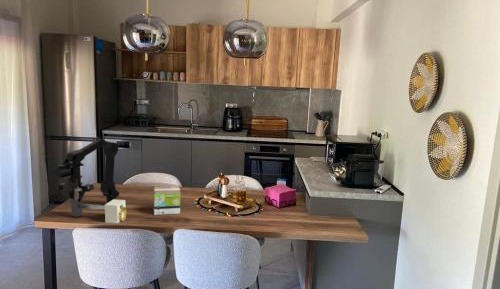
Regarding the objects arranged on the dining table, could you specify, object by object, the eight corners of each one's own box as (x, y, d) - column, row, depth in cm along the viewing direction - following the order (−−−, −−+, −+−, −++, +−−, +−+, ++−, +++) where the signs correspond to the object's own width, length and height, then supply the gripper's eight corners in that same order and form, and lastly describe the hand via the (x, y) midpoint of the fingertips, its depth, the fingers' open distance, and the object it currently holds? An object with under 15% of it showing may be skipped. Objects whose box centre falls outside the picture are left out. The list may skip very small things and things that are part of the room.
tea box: (154, 215, 221) (153, 191, 219) (153, 210, 231) (153, 186, 228) (180, 213, 225) (180, 189, 223) (178, 208, 235) (178, 185, 232)
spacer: (124, 217, 216) (124, 205, 215) (126, 218, 216) (126, 205, 215) (118, 222, 209) (118, 209, 208) (120, 222, 209) (120, 209, 208)
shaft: (75, 213, 218) (75, 196, 216) (119, 216, 215) (118, 199, 213) (71, 216, 214) (70, 198, 212) (115, 219, 211) (115, 201, 209)
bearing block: (114, 216, 218) (113, 199, 217) (125, 217, 218) (125, 200, 216) (105, 222, 209) (104, 204, 207) (117, 223, 208) (117, 205, 206)
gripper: (50, 177, 205) (51, 205, 208) (82, 179, 203) (84, 207, 205) (62, 172, 216) (64, 199, 219) (93, 174, 214) (95, 201, 216)
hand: (76, 201), depth 215 cm, fingers closed on shaft, 4 cm apart
